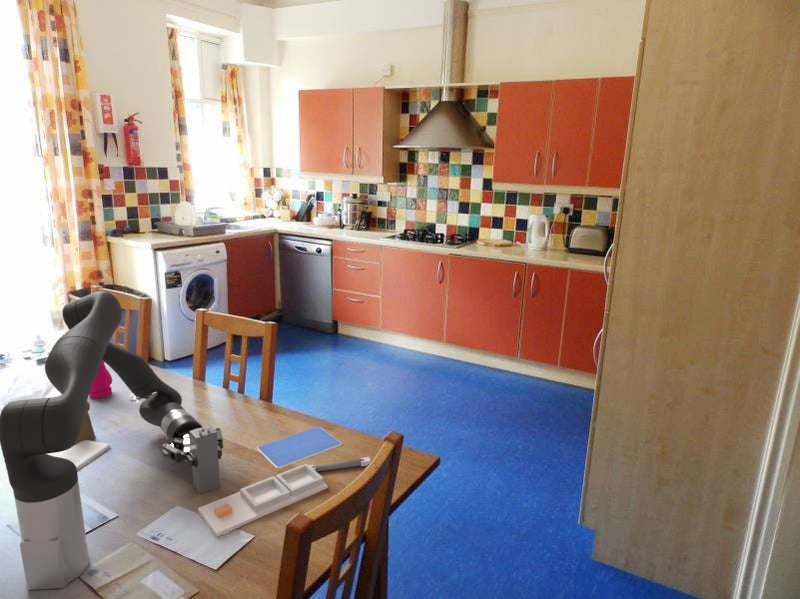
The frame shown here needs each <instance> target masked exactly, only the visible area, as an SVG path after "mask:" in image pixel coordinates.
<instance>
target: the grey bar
mask: <svg viewBox="0 0 800 599" xmlns="http://www.w3.org/2000/svg"><path fill="white" fill-rule="evenodd" d="M370 462H372V461H371V459H370V457H369V456H365V457H359V458H356V459H350V460H342V461H336V462H329V463H322V464H321V463H320V464H308V465H309V466H310V467H311V468H313V469H314V470H315V471H316V472H317V473H318V472H326V471H333V470H339V469H346V468H353V467H368V466H369V465H368V464H369V463H370ZM305 472H306V469H305Z"/></svg>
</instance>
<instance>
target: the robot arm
mask: <svg viewBox="0 0 800 599" xmlns="http://www.w3.org/2000/svg"><path fill="white" fill-rule="evenodd" d="M61 315H62V320H63V321H64V324H65V326H67V329H68V331H66V332H65V333H64V334H63V335H61V337H59V338H58V339H57V341H56V342H55V344H54V345H53V346H52V349H51V350H50V352H49V354H48V356H47V358H46V360H45V364H44V372H45V375H46V377H47V379H48V380H49V382H50V384H51V385H52V386H53V387H54V388H55V389H56V390H57V391H58V392H59V393H60V395H57V396H52V397H41V398H40V397H39V398H31V399H19V400H18V399H17V400H13V401H10V402H8V403H7V404H6V405H5V406H4V407H3V408H2V409H1V411H0V449H1V451H2V456H3V461H4V464H5V468H6V471H7V476H8V481H9V482H8V483H9V485H10V487H11V489H12V492H13V497H14V501H15V502H14V503H15V508H16V514H17V520H18V526H19V533H20V538H21V542H20V543H19V549H20V554H21V560H22V566H23V572H24V576H25V584H26V590H27V591H31V590H32V591H34V590H49V589H50V590H53V589H66V588H67V586H68V585H69V583H71V582H73V581H74V580H75V579H77V578H78V577H79V576H81V575H82V574H83V573H84V572H85V570H86V569H87V568H88V566H89V563H90V556H89V548H88V540H87V534H86V527H85V519H84V512H83V506H82V498H81V490H80V483H79V475H78V470H77V468H76V466H75V464H74V463H73V462H71V461H70V460H67V459H64V458H60V457H57V456H54V455H51V454H53V453H54V454H55V453H60V452H65V451H67V450H68V449H70V448H71V447H73V445H74V444H75V442H76V440H77V438H78V436H79V433H80V430H81V426H82V422H83V417H84V413H85V409H86V404H87V401H88V399H89V393H90V390H91V387H92V385H93V382H94V380H95V377H96V375H97V373H98V371H99V368H100V365H101V363H102V360H103V361H104V364H105V365H108V367H109V368H110V369H112V370H113V371H114V372H115V373H116V375H118V377H119V378H120V379H121V381H122V382H123V383H124V384H125V386H126V387H127V388H128V389H129V390H130V392H131V393H132V394H133V395H134V396H136V397H138V398H143V397H146V396H149V397H148V398H146V399H145V400H143V401H142V402H141V403H140V405H139V408H138V409H139V410H138V412H139V415H140V416H141V418H142V419H143V420H144V421H145V422H146V423H149V424H150V425H152V426H155V427H159V428H160V430H162V432H163V435H164V436H165V438H166V439H167V440H168V441H169V442H170V443H171V444H168V443H163V444H162V455H163V456H164V457H166V458H167V459H170V460H171V461H173V462H175V463H177V464H178V463H181V462H182V461H184V462H187V463H188V464H189V466H191V467H192V466H194V467H197V466H198V460H197V457H196V456H195V455H194V454H193V452H192V451H191V446H190V432H189V431H191V430H194V429H198V428H201V427H203V426H202V424H201V423H200V422H199V421H198V420H196V418H195V417H194V416H193V415H192V414H191V413H190V412H188V411H187V410H186V409H185V408H184V407H183V406H182V402H183V399H182V398H183V397H182V395H181V394H180V393H179V392H178V390H176V389H175V388H173V387H171V386H170V385H169V384H167V383H166V382H164V381H163V380H162V379H161V378H160V377H159V376H158V375H157V374H156V373H155V371H154V370H153V369H152V367H151V366H150V365H149V364H148V362H147V361H146V360H145V359H144V358H143V357H142V356H141V355H139V354H137V353H135V352H133V351H131V350H128V349H126V348H123V347H121V346H119V345H117V344H115V343H113V342H111V339H112V337H113V335H114V334H115V332H116V331H117V329H118V327H119V326H120V324H121V322H122V317H123V312H122V307H121V304H120V302H119V300H118V298H117V297H116V296H115V295H114V294H113V293H111V292H109V291H106V290H102V291H95V292H92V293H90V294H87V295H85V296H82V297H80V298H77V299H75V300H72V301H71V302H68V303H67V304H65V305H64V306H63V308H62V314H61ZM151 394H152V395H151ZM214 430H215V431H216V432H217V445H218V460H220V459H222V457H223V450H222V449H224V442H223V441H224V437H223V432H222V430H221V428H220V427H216V428H215V429H214Z"/></svg>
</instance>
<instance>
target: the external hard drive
mask: <svg viewBox="0 0 800 599" xmlns="http://www.w3.org/2000/svg"><path fill="white" fill-rule="evenodd" d="M109 449H111V444H109V443H105V442H101V441H100V442H99V441H95V440H93V441H89V440H85V441H81V442H79V443H78V444H76V445H75V446H72V447H71V448H70V449H68V450H65V451H63V452H62V453H60V454H59V455H57V456H56V457H60V458H64V459H67V460H70V461H71V462H73V463H74V464H75V466H76V468H77V471H79V470H80V469H81V468H83V467H84V466H86V465H87V464H89V463H91V462H92V461H93V460H95V459H96V458H97V457H99V456H100V455H102V454H104V453H105V452H106V451H108V450H109Z"/></svg>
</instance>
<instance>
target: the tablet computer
mask: <svg viewBox="0 0 800 599" xmlns="http://www.w3.org/2000/svg"><path fill="white" fill-rule="evenodd" d="M342 445H343V443H342V442H341V441H340V440H339V439H338V438H335V437H334V436H333V435H332V434H330V433H329V432H328V431H326V430H325V428H323V427H321V426H315V427H312V428H309V429H306V430H304V431H300V432H298V433H295V434H291V435H289V436H286V437H282V438H280V439H276V440H274V441H272V442H271V441H270V442H268V443H265V444H262V445H259V446H257V447H256V449H257V450H258V451H259V453H260V454H261V455H262V456H264V458H266V459H267V461H268V462H270V463H271V465H272V466H274V468H276V469H281V468H286V467H287V466H290V465H292V464H294V463H298V462H300V461H304V460H306V459H309V458H311V457H314V456H317V455H320V454H323V453H325V452H328V451H331V450H333V449H336V448H339V447H341V446H342Z"/></svg>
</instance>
